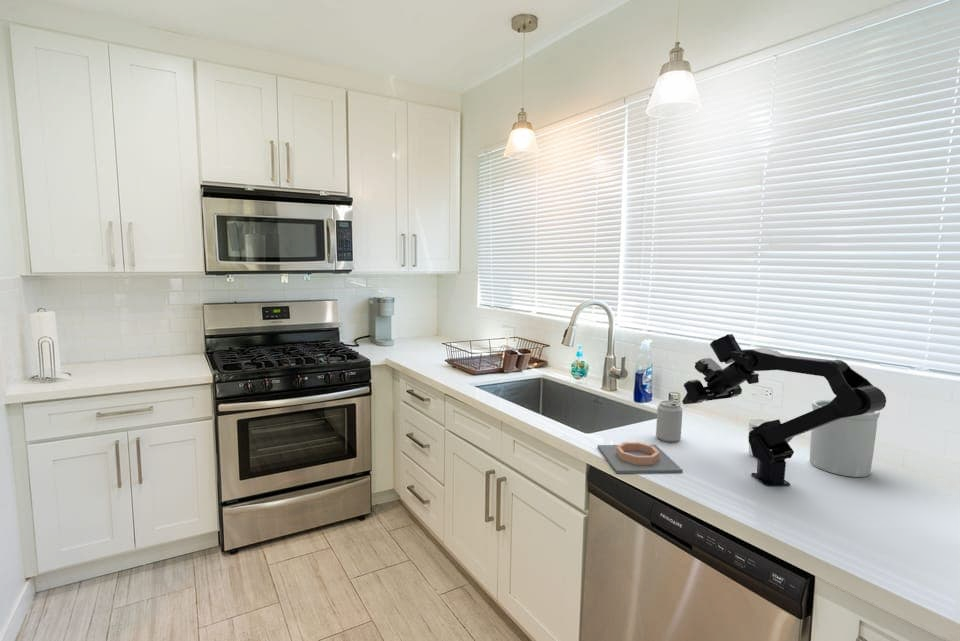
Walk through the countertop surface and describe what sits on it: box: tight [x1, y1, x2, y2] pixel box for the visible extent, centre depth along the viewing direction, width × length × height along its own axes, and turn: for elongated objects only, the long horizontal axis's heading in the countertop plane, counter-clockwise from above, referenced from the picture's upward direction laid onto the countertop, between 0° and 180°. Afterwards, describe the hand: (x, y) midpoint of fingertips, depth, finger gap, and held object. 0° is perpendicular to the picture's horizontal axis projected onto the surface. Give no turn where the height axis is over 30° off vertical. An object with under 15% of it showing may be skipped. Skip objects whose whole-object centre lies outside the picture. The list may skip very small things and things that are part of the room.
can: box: [655, 400, 683, 443], centre depth 154 cm, size 8×8×12 cm
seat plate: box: [597, 441, 683, 474], centre depth 138 cm, size 18×18×3 cm
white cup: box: [748, 418, 771, 457], centre depth 141 cm, size 8×8×10 cm
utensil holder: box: [809, 398, 881, 478], centre depth 133 cm, size 15×15×18 cm
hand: (694, 401), depth 146 cm, fingers open, 9 cm apart
